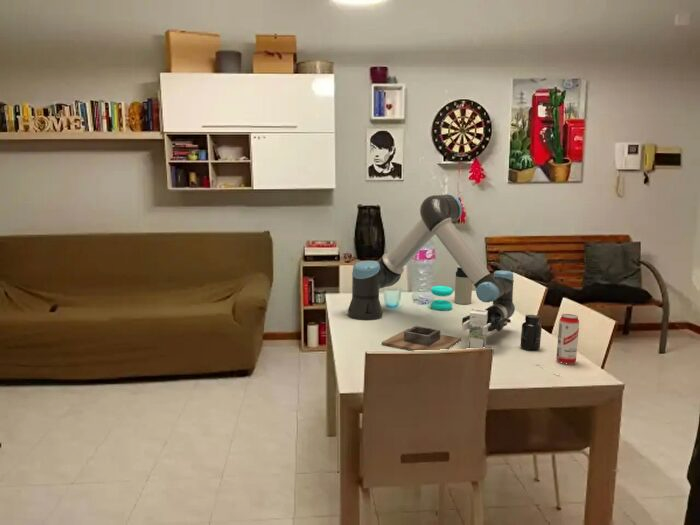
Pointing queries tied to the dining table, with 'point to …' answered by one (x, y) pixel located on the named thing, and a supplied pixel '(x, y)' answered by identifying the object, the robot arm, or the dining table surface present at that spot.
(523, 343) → the supplement bottle
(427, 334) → the collar board
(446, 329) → the dining table surface
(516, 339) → the dining table surface
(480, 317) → the syrup box
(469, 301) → the travel mug
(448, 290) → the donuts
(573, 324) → the beer can
